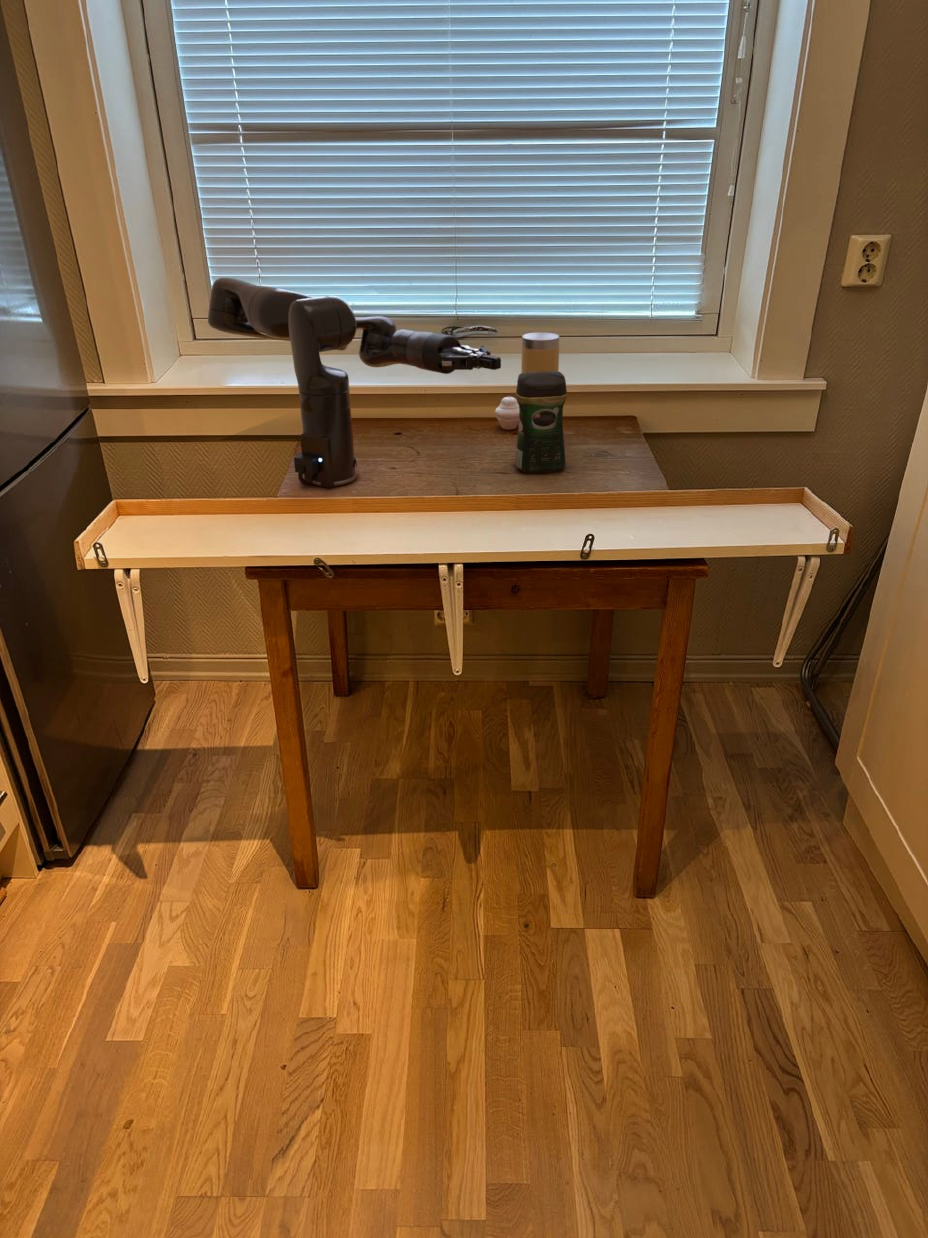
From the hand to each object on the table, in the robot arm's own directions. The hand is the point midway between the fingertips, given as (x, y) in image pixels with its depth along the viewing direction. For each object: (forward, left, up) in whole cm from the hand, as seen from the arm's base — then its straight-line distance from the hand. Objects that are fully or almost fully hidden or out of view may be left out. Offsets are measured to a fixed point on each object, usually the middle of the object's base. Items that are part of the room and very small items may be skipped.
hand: (498, 363), depth 175 cm
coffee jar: (-1, -10, -19) cm, 22 cm away
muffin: (+20, +8, -19) cm, 28 cm away
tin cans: (+13, -3, -19) cm, 23 cm away
